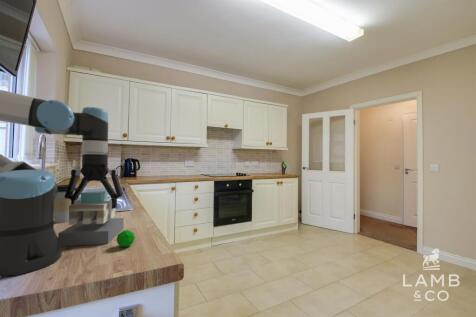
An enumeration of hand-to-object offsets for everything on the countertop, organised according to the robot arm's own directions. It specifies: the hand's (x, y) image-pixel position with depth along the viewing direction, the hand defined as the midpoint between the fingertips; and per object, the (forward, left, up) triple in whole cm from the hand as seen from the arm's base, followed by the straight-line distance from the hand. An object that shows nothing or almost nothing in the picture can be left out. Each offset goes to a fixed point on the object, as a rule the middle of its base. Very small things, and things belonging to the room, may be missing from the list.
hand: (94, 218), depth 80 cm
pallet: (0, 0, 0) cm, 0 cm away
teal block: (0, 0, +6) cm, 6 cm away
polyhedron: (-11, -13, -6) cm, 18 cm away
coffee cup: (+23, +21, -6) cm, 32 cm away
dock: (0, 0, -6) cm, 6 cm away
